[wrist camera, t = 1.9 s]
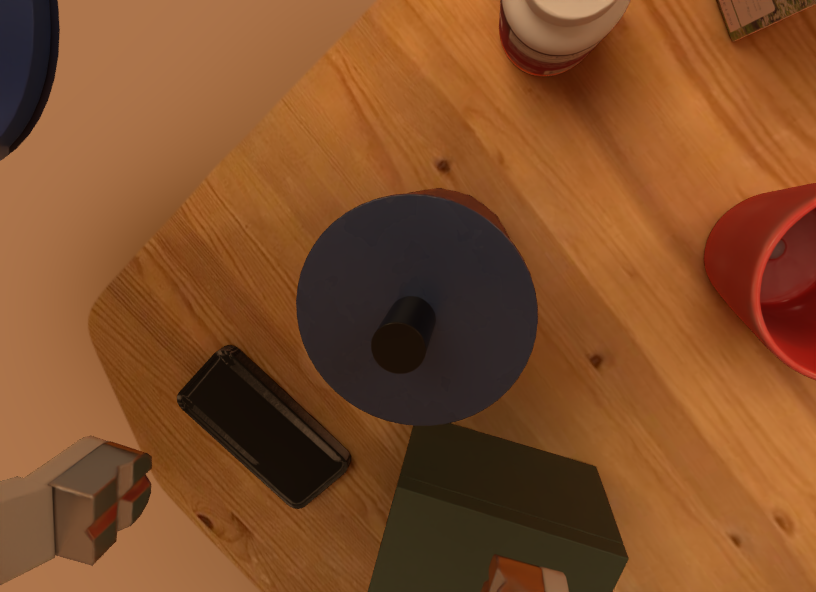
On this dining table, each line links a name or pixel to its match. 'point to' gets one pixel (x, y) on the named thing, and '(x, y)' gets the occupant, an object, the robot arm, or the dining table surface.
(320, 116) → the dining table surface
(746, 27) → the syrup box
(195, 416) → the phone
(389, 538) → the green open box
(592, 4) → the pill bottle
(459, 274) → the lid
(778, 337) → the flower pot
